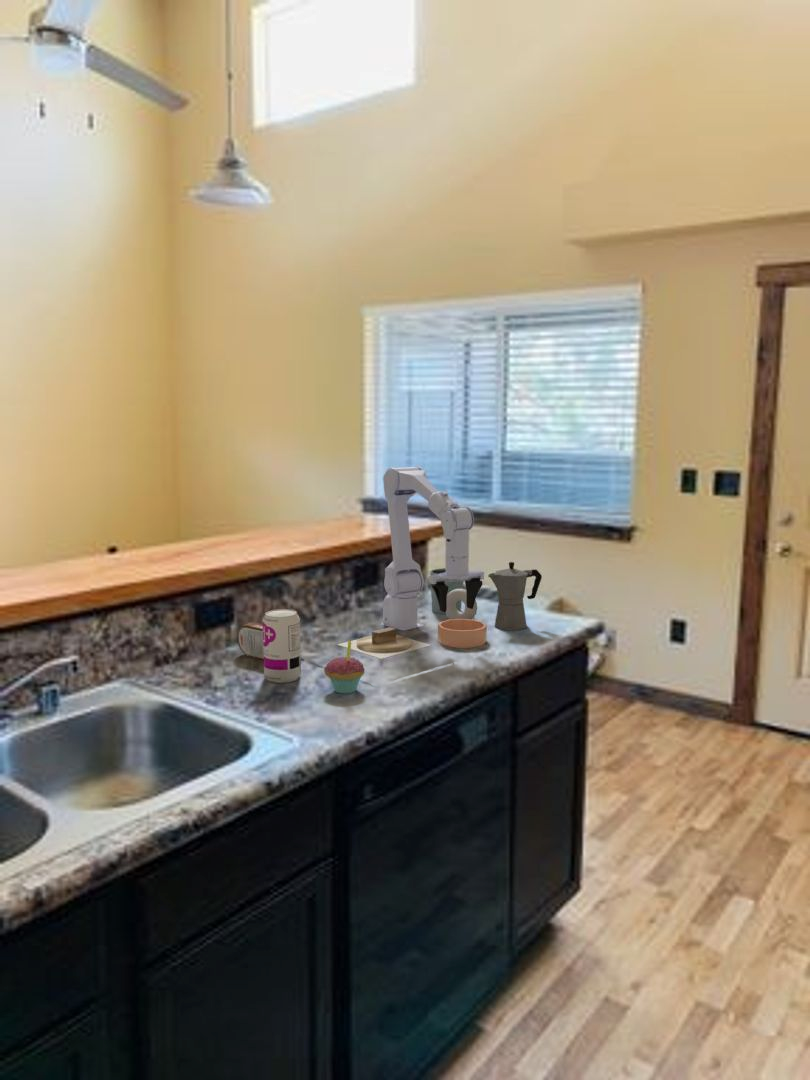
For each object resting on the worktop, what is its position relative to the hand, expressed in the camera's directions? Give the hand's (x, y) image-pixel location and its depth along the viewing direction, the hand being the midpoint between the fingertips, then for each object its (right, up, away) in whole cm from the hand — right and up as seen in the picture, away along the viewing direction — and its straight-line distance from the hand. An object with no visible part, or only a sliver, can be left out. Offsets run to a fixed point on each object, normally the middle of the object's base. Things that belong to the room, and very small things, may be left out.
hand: (456, 609), depth 215 cm
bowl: (+2, -9, +6) cm, 11 cm away
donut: (+3, -6, +25) cm, 26 cm away
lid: (-18, -9, +2) cm, 20 cm away
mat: (-18, -10, +2) cm, 21 cm away
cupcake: (-26, -15, -30) cm, 43 cm away
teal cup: (0, -4, +40) cm, 40 cm away
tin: (-48, -12, -7) cm, 49 cm away
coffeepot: (+17, -7, +22) cm, 29 cm away
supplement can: (-40, -14, -22) cm, 48 cm away
